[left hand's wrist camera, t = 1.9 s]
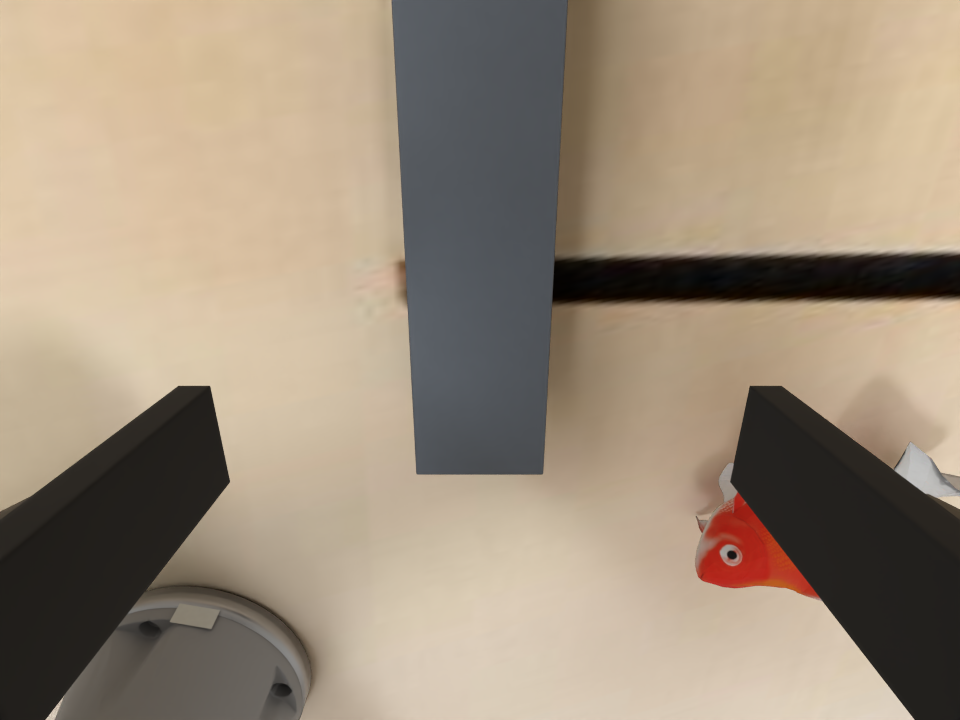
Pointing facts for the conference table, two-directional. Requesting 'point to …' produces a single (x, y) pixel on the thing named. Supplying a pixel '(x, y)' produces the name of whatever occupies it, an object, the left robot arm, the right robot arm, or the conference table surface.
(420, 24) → the bar
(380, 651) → the conference table surface
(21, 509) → the left robot arm
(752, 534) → the fish
